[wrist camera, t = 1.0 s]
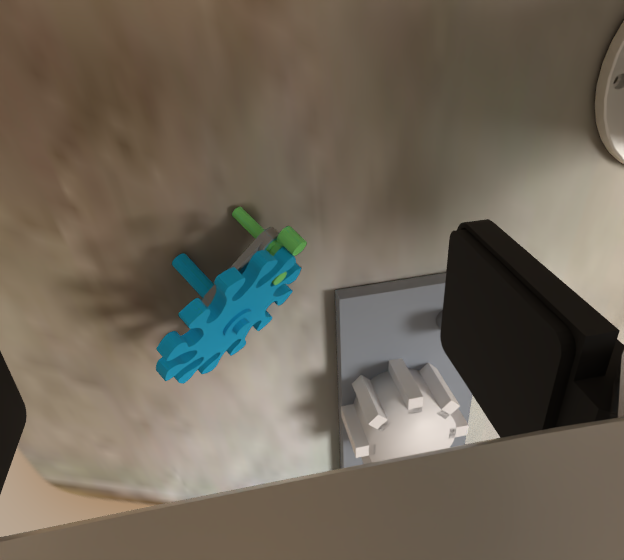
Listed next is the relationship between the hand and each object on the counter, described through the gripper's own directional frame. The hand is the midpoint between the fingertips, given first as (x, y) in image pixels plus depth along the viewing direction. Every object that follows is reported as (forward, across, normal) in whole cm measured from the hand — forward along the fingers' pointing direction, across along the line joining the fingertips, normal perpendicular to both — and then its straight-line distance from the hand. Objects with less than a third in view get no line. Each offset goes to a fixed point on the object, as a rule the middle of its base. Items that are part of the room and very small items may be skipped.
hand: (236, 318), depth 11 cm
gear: (+20, 0, +11) cm, 23 cm away
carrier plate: (+20, -12, +23) cm, 33 cm away
